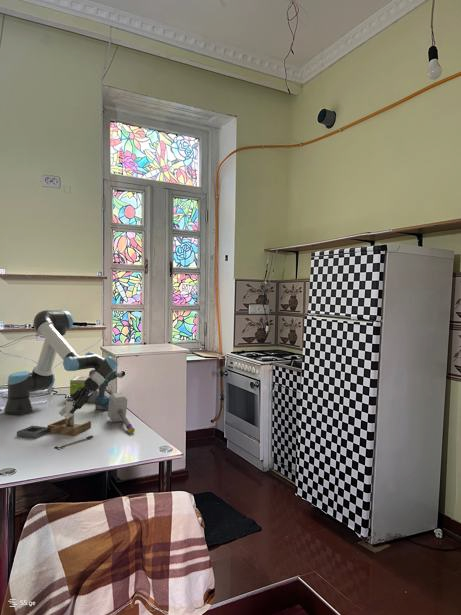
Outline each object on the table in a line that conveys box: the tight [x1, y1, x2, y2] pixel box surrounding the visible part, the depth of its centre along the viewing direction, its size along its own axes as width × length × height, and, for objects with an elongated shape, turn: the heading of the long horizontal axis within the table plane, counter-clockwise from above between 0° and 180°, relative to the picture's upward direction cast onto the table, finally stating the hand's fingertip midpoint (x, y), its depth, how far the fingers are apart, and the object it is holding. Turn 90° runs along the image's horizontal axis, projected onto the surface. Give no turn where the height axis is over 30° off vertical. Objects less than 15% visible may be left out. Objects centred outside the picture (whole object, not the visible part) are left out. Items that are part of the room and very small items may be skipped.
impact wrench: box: [88, 368, 124, 411], centre depth 271 cm, size 8×23×25 cm, turn 78°
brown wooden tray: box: [46, 417, 92, 436], centre depth 226 cm, size 16×14×4 cm
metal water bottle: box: [64, 397, 76, 428], centre depth 226 cm, size 4×4×15 cm
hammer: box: [107, 392, 135, 434], centre depth 234 cm, size 15×8×30 cm
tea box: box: [69, 375, 89, 403], centre depth 295 cm, size 15×10×15 cm
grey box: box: [86, 385, 100, 403], centre depth 291 cm, size 13×10×10 cm
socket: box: [16, 425, 50, 440], centre depth 217 cm, size 11×11×2 cm
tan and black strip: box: [53, 435, 94, 451], centre depth 205 cm, size 21×7×1 cm, turn 146°
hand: (62, 416), depth 223 cm, fingers open, 7 cm apart
